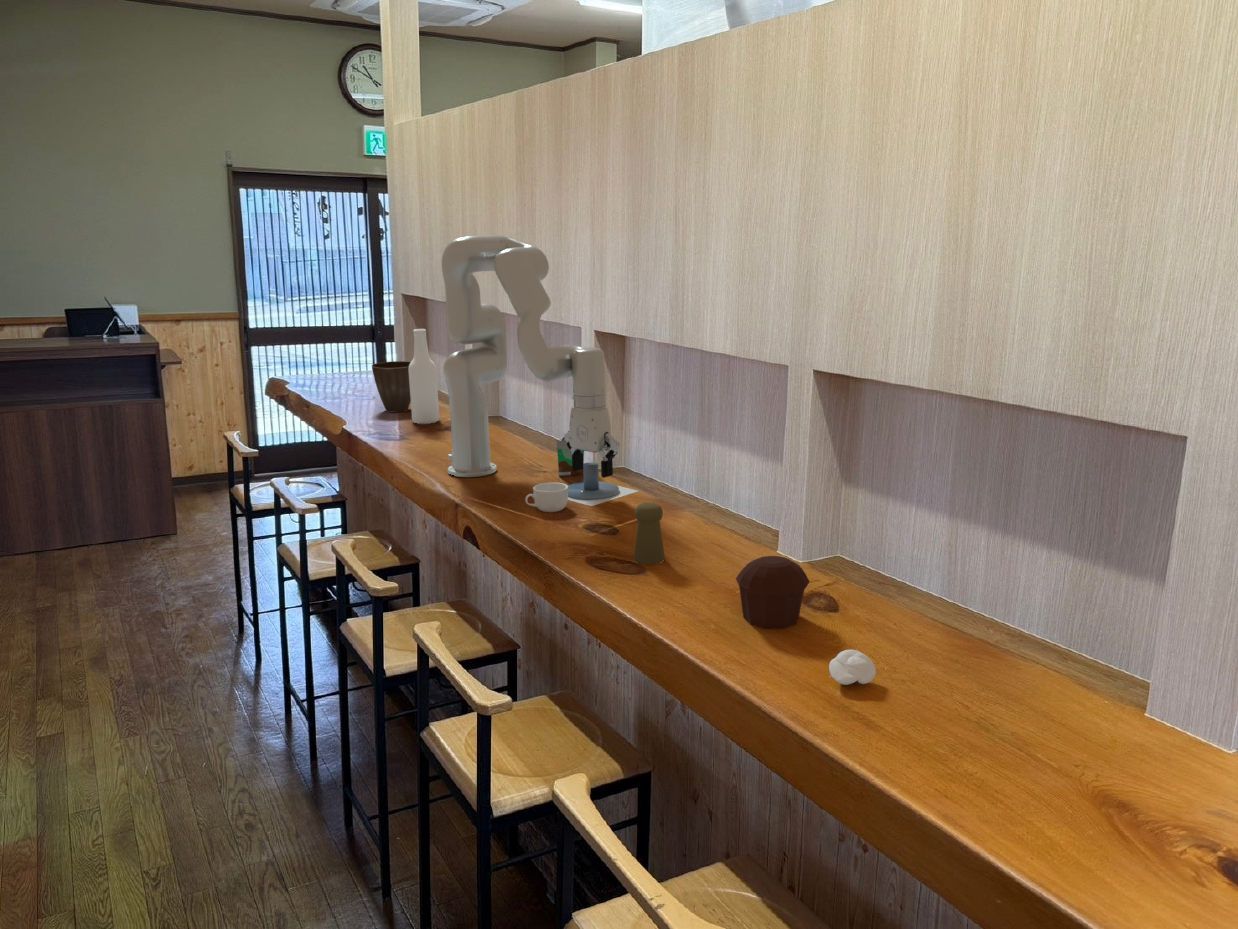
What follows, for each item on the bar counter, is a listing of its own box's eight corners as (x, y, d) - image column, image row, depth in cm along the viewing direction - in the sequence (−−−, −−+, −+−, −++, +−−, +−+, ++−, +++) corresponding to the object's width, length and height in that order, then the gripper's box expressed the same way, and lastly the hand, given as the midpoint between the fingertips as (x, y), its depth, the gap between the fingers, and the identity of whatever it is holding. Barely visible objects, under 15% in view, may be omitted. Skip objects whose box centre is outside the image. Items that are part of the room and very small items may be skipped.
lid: (552, 492, 224) (551, 465, 222) (591, 481, 233) (590, 454, 231) (591, 503, 215) (590, 474, 213) (630, 491, 224) (629, 463, 222)
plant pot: (428, 407, 330) (425, 362, 326) (402, 415, 317) (398, 368, 313) (393, 405, 336) (389, 360, 332) (366, 412, 323) (362, 366, 319)
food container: (581, 480, 235) (580, 441, 233) (557, 479, 236) (556, 440, 234) (592, 468, 247) (591, 430, 244) (569, 467, 248) (568, 430, 245)
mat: (543, 494, 224) (543, 493, 224) (591, 480, 235) (591, 479, 235) (591, 507, 213) (591, 506, 213) (639, 492, 224) (639, 491, 224)
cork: (668, 563, 178) (668, 507, 175) (636, 565, 177) (636, 509, 174) (661, 552, 184) (661, 498, 181) (630, 555, 183) (630, 500, 180)
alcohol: (411, 420, 310) (404, 328, 302) (438, 418, 312) (432, 327, 305) (413, 425, 302) (406, 331, 294) (441, 423, 304) (435, 330, 297)
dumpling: (857, 670, 135) (858, 644, 134) (883, 685, 131) (884, 658, 130) (819, 681, 132) (820, 655, 131) (844, 697, 128) (845, 670, 127)
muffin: (751, 636, 146) (753, 576, 144) (724, 609, 157) (725, 552, 154) (820, 626, 150) (823, 567, 147) (789, 600, 160) (791, 544, 157)
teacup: (560, 503, 217) (560, 480, 215) (574, 512, 210) (573, 488, 209) (519, 509, 213) (518, 486, 211) (532, 519, 206) (531, 495, 205)
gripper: (552, 400, 221) (555, 470, 226) (605, 408, 210) (607, 482, 214) (575, 395, 227) (578, 464, 231) (628, 403, 215) (630, 475, 219)
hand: (592, 473), depth 222 cm, fingers open, 9 cm apart
